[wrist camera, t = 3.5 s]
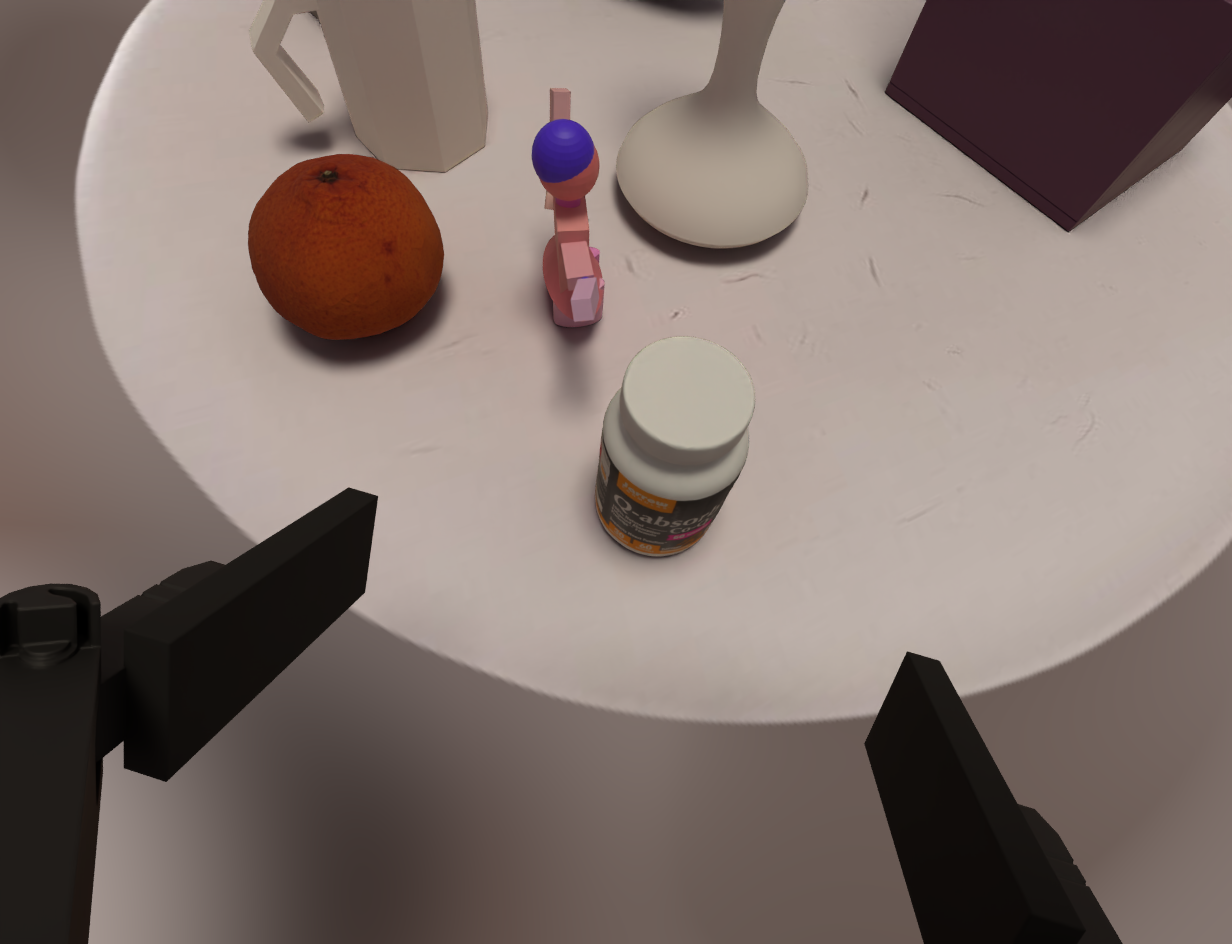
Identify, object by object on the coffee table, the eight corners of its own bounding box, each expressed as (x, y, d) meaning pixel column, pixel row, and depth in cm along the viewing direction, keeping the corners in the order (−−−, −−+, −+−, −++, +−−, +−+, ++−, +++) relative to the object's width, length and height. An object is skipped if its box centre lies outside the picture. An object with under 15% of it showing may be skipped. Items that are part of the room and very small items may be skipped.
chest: (1182, 148, 46) (1387, -66, 35) (1068, 232, 42) (1258, 19, 30) (1003, 28, 51) (1131, -196, 39) (884, 92, 47) (988, -138, 35)
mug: (470, 71, 45) (447, -107, 36) (508, 159, 41) (492, -13, 33) (282, 103, 42) (207, -81, 33) (306, 199, 39) (230, 24, 30)
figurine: (561, 419, 34) (559, 260, 24) (526, 239, 39) (513, 45, 29) (627, 409, 34) (652, 250, 24) (584, 233, 39) (591, 41, 29)
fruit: (402, 214, 39) (365, 82, 32) (480, 319, 36) (459, 200, 29) (252, 276, 36) (175, 148, 29) (324, 395, 33) (257, 285, 26)
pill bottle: (601, 565, 31) (616, 471, 22) (588, 453, 33) (597, 327, 24) (723, 554, 31) (786, 458, 22) (702, 445, 34) (751, 319, 25)
